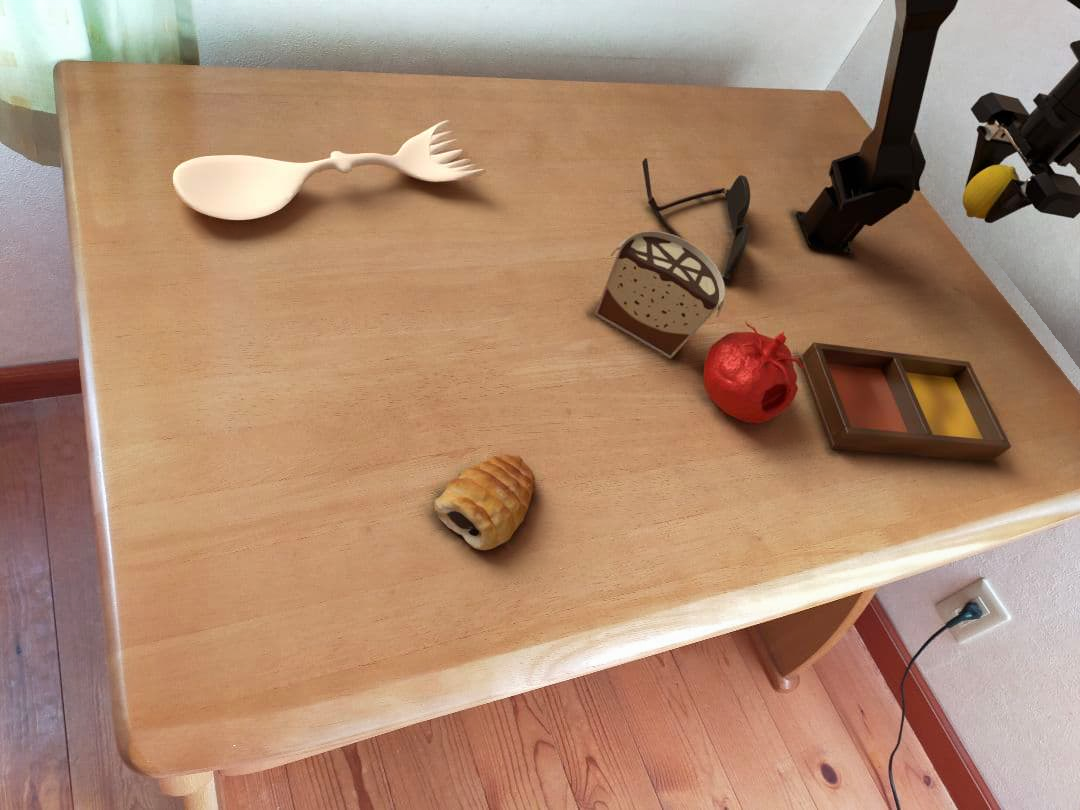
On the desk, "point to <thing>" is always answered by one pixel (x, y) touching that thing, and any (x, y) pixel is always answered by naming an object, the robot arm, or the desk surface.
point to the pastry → (488, 501)
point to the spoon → (304, 175)
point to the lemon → (986, 189)
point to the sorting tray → (901, 403)
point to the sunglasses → (736, 207)
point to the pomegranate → (751, 375)
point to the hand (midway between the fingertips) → (977, 205)
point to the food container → (661, 290)
